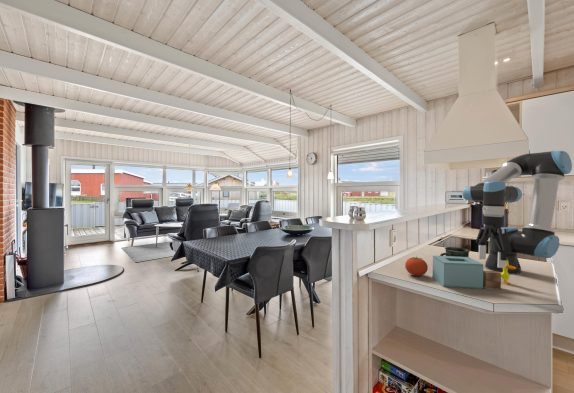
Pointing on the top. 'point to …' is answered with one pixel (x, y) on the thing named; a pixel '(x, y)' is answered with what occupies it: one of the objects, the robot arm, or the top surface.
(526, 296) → the top surface
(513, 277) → the top surface
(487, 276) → the brown wooden block
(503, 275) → the toy figure
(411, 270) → the tomato
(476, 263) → the coin box
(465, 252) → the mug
